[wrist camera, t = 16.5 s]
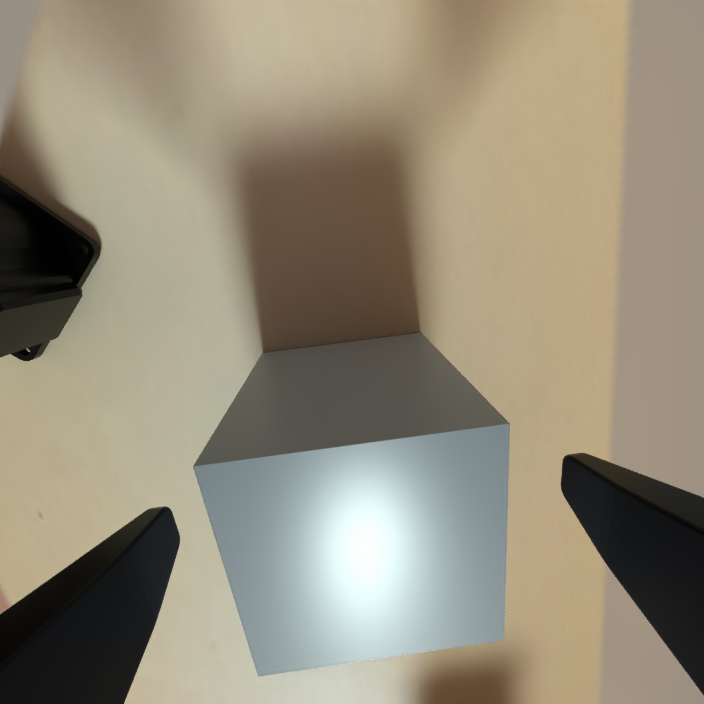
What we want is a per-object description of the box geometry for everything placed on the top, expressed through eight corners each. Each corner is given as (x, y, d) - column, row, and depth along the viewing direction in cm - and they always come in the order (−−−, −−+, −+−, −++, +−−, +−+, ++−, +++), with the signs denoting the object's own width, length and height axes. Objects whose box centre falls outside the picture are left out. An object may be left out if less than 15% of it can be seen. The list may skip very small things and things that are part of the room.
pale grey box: (290, 484, 19) (258, 676, 11) (262, 353, 17) (193, 466, 8) (428, 466, 19) (504, 640, 11) (420, 332, 17) (509, 423, 8)
